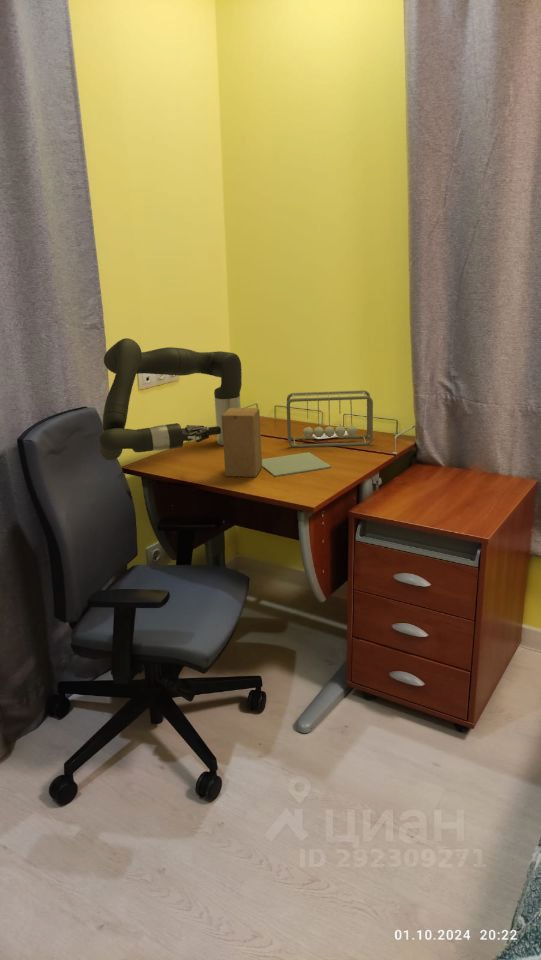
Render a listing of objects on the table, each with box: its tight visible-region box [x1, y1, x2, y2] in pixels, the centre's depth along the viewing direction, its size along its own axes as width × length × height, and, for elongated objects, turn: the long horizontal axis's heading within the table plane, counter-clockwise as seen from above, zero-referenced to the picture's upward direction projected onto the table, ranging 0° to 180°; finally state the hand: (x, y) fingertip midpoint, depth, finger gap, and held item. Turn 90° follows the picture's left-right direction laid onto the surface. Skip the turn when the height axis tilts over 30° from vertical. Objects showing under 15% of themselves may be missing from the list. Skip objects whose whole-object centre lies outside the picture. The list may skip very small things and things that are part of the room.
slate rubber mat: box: [262, 451, 332, 477], centre depth 233 cm, size 18×20×1 cm
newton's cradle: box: [286, 389, 374, 448], centre depth 253 cm, size 30×10×18 cm, turn 88°
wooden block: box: [222, 407, 263, 478], centre depth 224 cm, size 10×10×20 cm
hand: (220, 429), depth 221 cm, fingers closed
